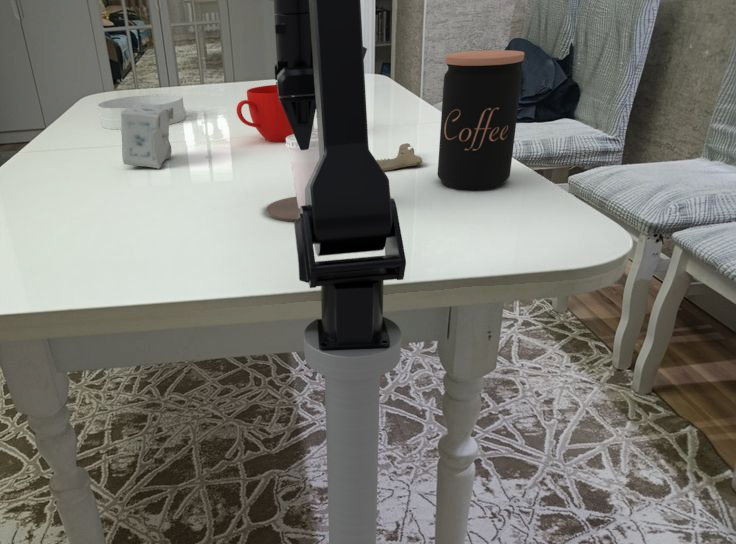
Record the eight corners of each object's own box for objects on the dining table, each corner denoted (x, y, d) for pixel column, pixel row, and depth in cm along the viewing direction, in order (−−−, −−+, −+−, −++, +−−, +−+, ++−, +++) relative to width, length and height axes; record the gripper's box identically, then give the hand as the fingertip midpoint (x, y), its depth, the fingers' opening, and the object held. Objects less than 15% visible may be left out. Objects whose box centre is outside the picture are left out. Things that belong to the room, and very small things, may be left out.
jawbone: (438, 166, 109) (439, 154, 108) (334, 188, 102) (334, 175, 101) (407, 152, 116) (408, 141, 115) (308, 172, 109) (308, 160, 108)
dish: (91, 121, 171) (87, 102, 168) (169, 110, 179) (166, 91, 177) (114, 133, 153) (110, 111, 151) (198, 120, 162) (196, 99, 159)
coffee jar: (428, 188, 96) (436, 59, 87) (446, 171, 104) (455, 50, 95) (501, 194, 92) (517, 57, 83) (515, 175, 100) (530, 49, 91)
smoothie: (342, 206, 90) (341, 101, 83) (305, 216, 87) (301, 108, 80) (316, 197, 95) (313, 97, 88) (280, 206, 92) (274, 103, 85)
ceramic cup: (223, 143, 135) (218, 93, 130) (285, 130, 143) (283, 82, 139) (259, 152, 126) (255, 98, 121) (323, 137, 134) (322, 86, 129)
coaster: (345, 219, 86) (345, 216, 86) (265, 223, 87) (264, 221, 87) (340, 196, 96) (340, 194, 96) (268, 200, 96) (267, 197, 96)
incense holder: (165, 169, 118) (157, 110, 113) (123, 170, 119) (112, 112, 114) (180, 156, 126) (172, 101, 121) (140, 157, 128) (131, 103, 123)
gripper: (374, 10, 71) (372, 153, 78) (352, 6, 87) (352, 125, 95) (274, 17, 71) (282, 159, 79) (271, 12, 87) (277, 130, 95)
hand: (302, 142), depth 87 cm, fingers open, 9 cm apart
